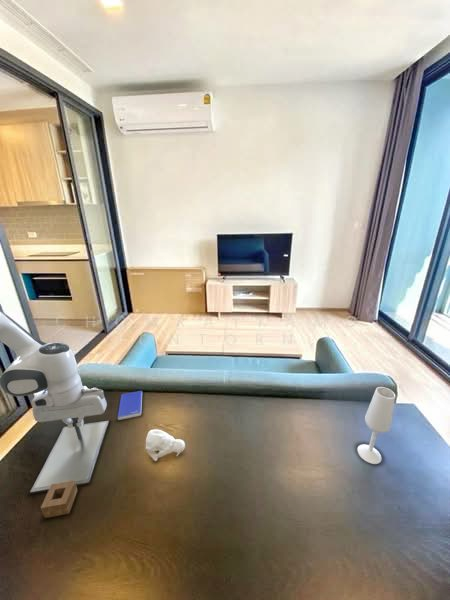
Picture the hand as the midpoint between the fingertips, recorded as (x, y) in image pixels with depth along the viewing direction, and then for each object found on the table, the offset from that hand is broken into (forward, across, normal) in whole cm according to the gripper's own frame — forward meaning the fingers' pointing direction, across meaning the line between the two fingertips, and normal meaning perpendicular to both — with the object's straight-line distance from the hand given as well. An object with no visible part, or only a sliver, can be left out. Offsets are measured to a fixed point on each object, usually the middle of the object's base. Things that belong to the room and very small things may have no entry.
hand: (76, 425), depth 82 cm
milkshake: (+7, +4, -16) cm, 18 cm away
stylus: (+6, 0, 0) cm, 6 cm away
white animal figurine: (+7, -29, +10) cm, 31 cm away
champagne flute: (+7, -92, +21) cm, 95 cm away
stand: (+7, -2, +20) cm, 21 cm away
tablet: (+7, 0, +5) cm, 8 cm away
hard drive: (+7, -14, -13) cm, 21 cm away
